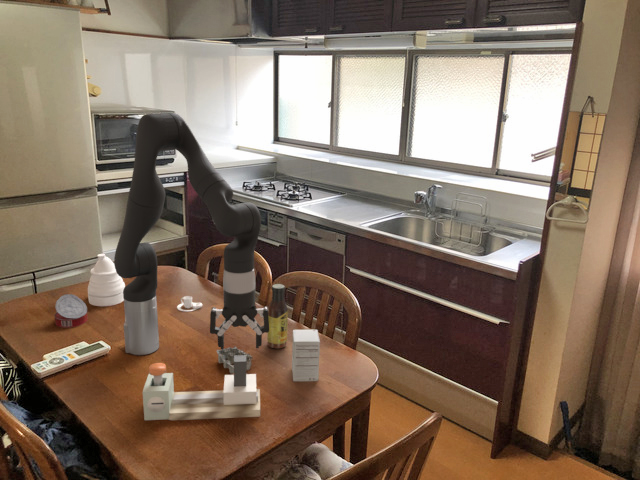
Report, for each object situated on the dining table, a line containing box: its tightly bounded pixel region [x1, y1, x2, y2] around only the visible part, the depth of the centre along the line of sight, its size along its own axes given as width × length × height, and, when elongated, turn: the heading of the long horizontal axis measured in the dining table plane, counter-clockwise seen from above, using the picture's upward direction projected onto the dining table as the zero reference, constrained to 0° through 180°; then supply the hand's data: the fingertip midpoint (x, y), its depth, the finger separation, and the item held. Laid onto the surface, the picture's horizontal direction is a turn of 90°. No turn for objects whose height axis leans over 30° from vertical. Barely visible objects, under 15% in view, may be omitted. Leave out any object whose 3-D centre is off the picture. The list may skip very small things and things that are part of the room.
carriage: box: [223, 355, 257, 405], centre depth 131 cm, size 8×8×12 cm
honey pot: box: [87, 253, 126, 307], centre depth 190 cm, size 13×13×18 cm
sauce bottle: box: [266, 283, 289, 350], centre depth 162 cm, size 7×6×20 cm
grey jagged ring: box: [216, 346, 254, 374], centre depth 152 cm, size 11×8×4 cm
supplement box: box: [291, 329, 321, 382], centre depth 147 cm, size 7×7×13 cm
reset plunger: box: [148, 362, 167, 386], centre depth 128 cm, size 4×4×6 cm
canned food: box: [54, 293, 89, 329], centre depth 174 cm, size 11×10×10 cm
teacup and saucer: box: [176, 295, 203, 312], centre depth 189 cm, size 9×8×4 cm
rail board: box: [168, 388, 261, 421], centre depth 132 cm, size 22×9×4 cm, turn 97°
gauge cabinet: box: [142, 372, 175, 421], centre depth 129 cm, size 6×9×8 cm
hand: (240, 347), depth 128 cm, fingers open, 8 cm apart
